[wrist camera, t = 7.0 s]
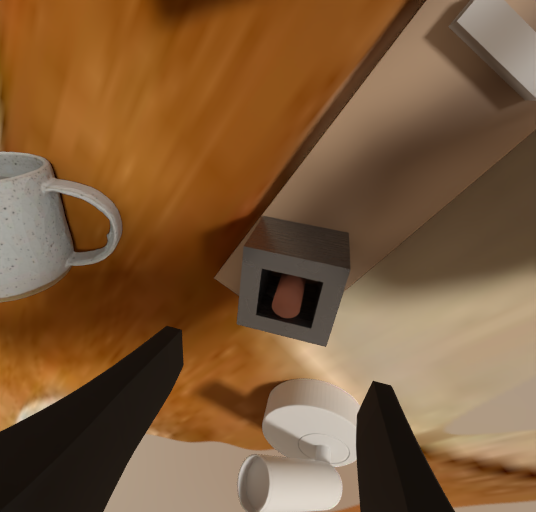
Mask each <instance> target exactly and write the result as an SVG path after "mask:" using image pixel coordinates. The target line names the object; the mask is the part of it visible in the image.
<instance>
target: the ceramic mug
mask: <svg viewBox="0 0 536 512" xmlns="http://www.w3.org/2000/svg"><path fill="white" fill-rule="evenodd" d="M59 192H60V193H63V194H67V195H71V196H74V197H77V198H80V199H83V200H85V201H87V202H89V203H90V204H92V205H94V206H95V207H96V208H97V209H98V210H100V211H101V212H103V213H104V214H105V216H107V218H108V219H109V220H110V232H109V233H108V235H107V238H108V242H107V245H106V246H105V247H104V248H101V249H97V250H95V251H88V252H75V251H74V248H73V242H72V238H71V234H70V231H69V228H68V225H67V222H66V218H65V214H64V210H63V205H62V201H61V197H60V194H59ZM121 235H122V221H121V217H120V214H119V211H118V209H117V208H116V206H115V205H114V203H113V202H112V201H111V200H110V199H109V198H107V197H106V196H105V195H104V194H103V193H101V192H100V191H98V190H96V189H94V188H92V187H90V186H87V185H84V184H80V183H76V182H72V181H67V180H60V179H56V178H55V176H54V172H53V169H52V166H51V164H50V163H49V161H48V160H46V159H45V158H43V157H40V156H36V155H32V154H27V153H17V152H0V302H7V301H14V300H18V299H22V298H26V297H28V296H31V295H34V294H37V293H39V292H41V291H44V290H46V289H48V288H49V287H51V286H53V285H55V284H56V283H57V282H58V281H60V280H61V279H62V278H63V277H64V276H65V275H66V274H67V273H68V272H69V271H70V269H71V267H72V266H81V265H89V264H94V263H96V262H99V261H102V260H104V259H105V258H106V257H108V256H109V255H110V254H111V253H112V252H113V251H114V249H115V248H116V246H117V244H118V242H119V240H120V237H121Z"/></svg>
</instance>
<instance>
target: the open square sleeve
mask: <svg viewBox="0 0 536 512" xmlns="http://www.w3.org/2000/svg"><path fill="white" fill-rule="evenodd" d="M350 270H351V267H350V245H349V233H348V232H343V231H338V230H333V229H328V228H323V227H318V226H313V225H308V224H303V223H298V222H293V221H288V220H283V219H278V218H273V217H268V216H263V217H262V218H261V220H260V222H259V223H258V225H257V226H256V228H255V229H254V231H253V232H252V234H251V235H250V237H249V239H248V240H247V242H246V243H245V245H244V247H243V258H242V270H241V282H240V293H239V305H238V317H237V324H238V325H242V326H246V327H250V328H254V329H258V330H262V331H266V332H269V333H273V334H277V335H281V336H285V337H289V338H293V339H297V340H301V341H305V342H309V343H313V344H317V345H321V346H325V347H326V345H327V342H328V339H329V336H330V333H331V330H332V327H333V323H334V320H335V317H336V314H337V311H338V308H339V304H340V301H341V298H342V295H343V292H344V289H345V286H346V282H347V279H348V276H349V273H350ZM272 271H275V272H280V273H284V274H289V275H293V276H297V277H302V278H306V279H311V280H315V281H318V283H317V285H312V284H308V283H305V287H304V292H303V297H302V303H301V308H300V312H299V314H298V315H297V316H295V317H293V318H283V317H280V316H278V315H277V314H276V313H275V312H274V311H273V309H272V302H273V299H274V296H275V293H276V290H277V287H278V284H279V281H280V278H281V277H277V276H273V275H272Z"/></svg>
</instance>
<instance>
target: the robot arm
mask: <svg viewBox="0 0 536 512" xmlns="http://www.w3.org/2000/svg"><path fill="white" fill-rule="evenodd" d="M182 367H183V346H182V330H180V329H177V328H173V327H169V326H166V327H165V328H163V329H162V330H161V331H159V332H158V333H157V334H155V335H154V336H153V337H151V338H150V339H149V340H148V341H146V342H145V343H144V344H142V345H141V346H140V347H138V348H137V349H136V350H134V351H133V352H132V353H130V354H129V355H127V356H126V357H125V358H123V359H122V360H120V361H119V362H118V363H116V364H115V365H114V366H112V367H111V368H109V369H108V370H106V371H105V372H103V373H102V374H100V375H99V376H97V377H96V378H94V379H93V380H91V381H90V382H88V383H87V384H85V385H84V386H82V387H80V388H79V389H77V390H76V391H74V392H72V393H71V394H69V395H67V396H66V397H64V398H62V399H60V400H59V401H57V402H55V403H54V404H52V405H50V406H48V407H47V408H45V409H43V410H41V411H39V412H37V413H35V414H34V415H32V416H30V417H28V418H26V419H24V420H22V421H20V422H18V423H17V424H15V425H13V426H11V427H9V428H7V429H5V430H3V431H0V512H103V511H104V509H105V507H106V505H107V503H108V501H109V499H110V497H111V495H112V493H113V491H114V489H115V487H116V485H117V483H118V481H119V479H120V477H121V475H122V473H123V471H124V469H125V467H126V465H127V463H128V462H129V460H130V458H131V456H132V455H133V453H134V451H135V449H136V448H137V446H138V444H139V443H140V441H141V440H142V438H143V436H144V435H145V433H146V432H147V430H148V428H149V427H150V425H151V423H152V422H153V420H154V419H155V417H156V415H157V414H158V412H159V410H160V409H161V407H162V406H163V404H164V402H165V401H166V399H167V397H168V396H169V394H170V392H171V391H172V389H173V387H174V384H175V382H176V380H177V378H178V376H179V374H180V372H181V370H182ZM356 456H357V468H358V483H359V497H360V510H361V512H455V511H454V509H453V508H452V506H451V504H450V502H449V501H448V499H447V497H446V495H445V493H444V492H443V490H442V488H441V486H440V484H439V483H438V481H437V479H436V477H435V475H434V473H433V472H432V470H431V468H430V466H429V464H428V462H427V460H426V458H425V456H424V454H423V452H422V450H421V448H420V446H419V444H418V442H417V440H416V438H415V436H414V434H413V432H412V430H411V428H410V426H409V423H408V421H407V419H406V417H405V415H404V413H403V410H402V408H401V406H400V404H399V401H398V399H397V397H396V395H395V392H394V390H393V388H392V386H391V385H387V384H383V383H379V382H376V381H373V382H372V384H371V386H370V388H369V390H368V392H367V394H366V396H365V399H364V401H363V403H362V405H361V407H360V409H359V411H358V413H357V423H356Z"/></svg>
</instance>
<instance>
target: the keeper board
mask: <svg viewBox="0 0 536 512" xmlns="http://www.w3.org/2000/svg"><path fill="white" fill-rule="evenodd" d="M535 130H536V0H425V2H424V3H423V4H422V6H421V7H420V8H419V9H418V11H417V12H416V13H415V15H414V16H413V17H412V19H411V20H410V21H409V23H408V24H407V25H406V26H405V28H404V29H403V30H402V32H401V33H400V34H399V36H398V37H397V38H396V40H395V41H394V42H393V44H392V45H391V46H390V47H389V49H388V50H387V51H386V53H385V54H384V55H383V57H382V58H381V59H380V61H379V62H378V63H377V64H376V66H375V67H374V68H373V70H372V71H371V72H370V74H369V75H368V76H367V78H366V79H365V80H364V81H363V83H362V84H361V85H360V87H359V88H358V89H357V91H356V92H355V93H354V95H353V96H352V97H351V99H350V100H349V101H348V102H347V104H346V105H345V106H344V108H343V109H342V110H341V112H340V113H339V114H338V116H337V117H336V118H335V119H334V121H333V122H332V123H331V125H330V126H329V127H328V129H327V130H326V131H325V133H324V134H323V135H322V137H321V138H320V139H319V140H318V142H317V143H316V144H315V146H314V147H313V148H312V150H311V151H310V152H309V154H308V155H307V156H306V157H305V159H304V160H303V161H302V163H301V164H300V165H299V167H298V168H297V169H296V171H295V172H294V173H293V174H292V176H291V177H290V178H289V180H288V181H287V182H286V184H285V185H284V186H283V188H282V189H281V190H280V192H279V193H278V194H277V195H276V197H275V198H274V199H273V201H272V202H271V203H270V205H269V206H268V207H267V209H266V210H265V211H264V212H263V214H262V215H261V216H260V218H259V219H258V220H257V222H256V223H255V224H254V226H253V227H252V228H251V230H250V231H249V232H248V233H247V235H246V236H245V237H244V239H243V240H242V241H241V243H240V244H239V245H238V247H237V248H236V249H235V250H234V252H233V253H232V254H231V256H230V257H229V258H228V260H227V261H226V262H225V264H224V265H223V266H222V267H221V269H220V270H219V272H218V273H217V275H216V276H215V277H214V278H215V279H216V280H217V281H219V282H220V283H222V284H223V285H224V286H226V287H227V288H229V289H230V290H231V291H233V292H234V293H236V294H237V295H239V293H240V282H241V270H242V258H243V247H244V245H245V243H246V242H247V240H248V239H249V237H250V235H251V234H252V232H253V231H254V229H255V228H256V226H257V225H258V223H259V222H260V220H261V218H262V217H263V216H268V217H273V218H278V219H283V220H288V221H293V222H298V223H303V224H308V225H313V226H318V227H323V228H328V229H333V230H338V231H343V232H348V233H349V245H350V267H351V270H350V273H349V276H348V279H347V282H346V286H345V289H344V291H345V290H346V289H348V288H349V287H350V286H351V285H352V284H353V283H355V282H356V281H357V280H358V279H359V278H361V277H362V276H363V275H364V274H365V273H366V272H368V271H369V270H370V269H371V268H372V267H374V266H375V265H376V264H377V263H378V262H379V261H381V260H382V259H383V258H384V257H385V256H387V255H388V254H389V253H390V252H391V251H393V250H394V249H395V248H396V247H397V246H398V245H400V244H401V243H402V242H403V241H404V240H406V239H407V238H408V237H409V236H410V235H411V234H413V233H414V232H415V231H416V230H417V229H419V228H420V227H421V226H422V225H423V224H425V223H426V222H427V221H428V220H429V219H430V218H432V217H433V216H434V215H435V214H436V213H438V212H439V211H440V210H441V209H442V208H443V207H445V206H446V205H447V204H448V203H449V202H451V201H452V200H453V199H454V198H455V197H457V196H458V195H459V194H460V193H461V192H462V191H464V190H465V189H466V188H467V187H468V186H470V185H471V184H472V183H473V182H474V181H475V180H477V179H478V178H479V177H480V176H481V175H483V174H484V173H485V172H486V171H487V170H489V169H490V168H491V167H492V166H493V165H494V164H496V163H497V162H498V161H499V160H500V159H502V158H503V157H504V156H505V155H506V154H507V153H509V152H510V151H511V150H512V149H513V148H515V147H516V146H517V145H518V144H519V143H520V142H522V141H523V140H524V139H525V138H526V137H528V136H529V135H530V134H531V133H532V132H534V131H535ZM272 275H273V276H277V277H281V278H280V281H279V284H278V287H277V290H276V293H275V296H274V299H273V302H272V309H273V311H274V312H275V313H276V314H277V315H278V316H280V317H283V318H293V317H295V316H297V315H298V314H299V312H300V308H301V303H302V297H303V292H304V287H305V283H308V284H312V285H317V283H318V281H315V280H311V279H306V278H302V277H297V276H293V275H289V274H284V273H280V272H275V271H272Z"/></svg>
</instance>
